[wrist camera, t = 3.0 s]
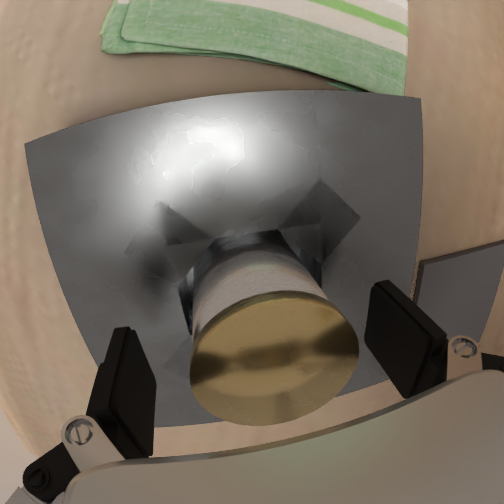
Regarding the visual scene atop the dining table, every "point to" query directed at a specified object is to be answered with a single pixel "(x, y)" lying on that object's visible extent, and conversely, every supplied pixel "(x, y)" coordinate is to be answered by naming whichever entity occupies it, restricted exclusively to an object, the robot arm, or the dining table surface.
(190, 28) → the dish towel
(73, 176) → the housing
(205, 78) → the dining table surface
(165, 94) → the dining table surface
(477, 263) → the mat
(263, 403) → the can with gold end
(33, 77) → the dining table surface
